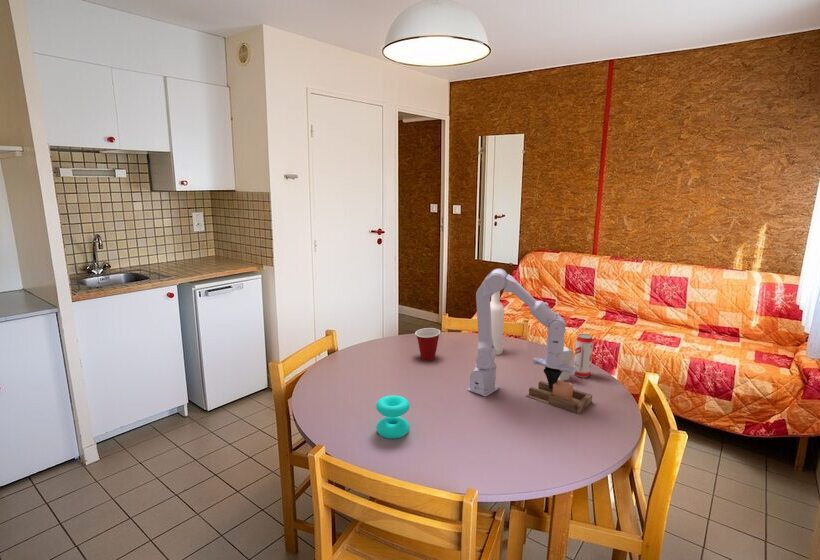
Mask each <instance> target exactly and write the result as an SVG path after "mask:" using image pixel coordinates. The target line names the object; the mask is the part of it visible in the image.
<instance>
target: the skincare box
mask: <svg viewBox="0 0 820 560" xmlns="http://www.w3.org/2000/svg"><path fill="white" fill-rule="evenodd" d="M572 356H573V350H572V349H570V348H569V347H567V346H565V345H564V351H563V363H564V364H566V365H569V366H571V367H572V365H571V364H572ZM570 375H571V374H570V373H567V372H562V373H561V375H560V376H559V378H558V380H557V381H559V380H561V381H564V380H565V381H568V380H570Z"/></svg>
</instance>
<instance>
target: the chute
mask: <svg viewBox="0 0 820 560" xmlns="http://www.w3.org/2000/svg"><path fill="white" fill-rule="evenodd" d="M552 393H553V389H549V384H548V382H546V381H542V380H540V381H538V387H533V386H532V387H529V389H528V393H527V394H526V395H525V397H526V398H529V399H532V400H535V401H539V402H541V403H544V404H547V405H551V406H552V407H553V406H554V407H556V408H560V409H562V410H565V411H569V412H571V413H574V412H575V413H574V414H576V415H579V414H581V412H583V411H584V410H585V409H586V408H588V406H590V405H591V404H592V402H593V394H591V393H587V392H584V391H581V390H577V389H574V388H573V395H572V399H571V400H570V401H568V400H565V399H562V398H559V397H556V396H552Z"/></svg>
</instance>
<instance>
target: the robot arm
mask: <svg viewBox="0 0 820 560" xmlns="http://www.w3.org/2000/svg"><path fill="white" fill-rule="evenodd" d="M483 279H484V280H482V282H481V284H480V286H479V287H478V288H477V291H476V293H475V301H476V317H477V318H476V319H477V333H478V335H477V337H478V345H477V355H476V356H475V368H474V370H472V371H471V372H470V374H469V387H468V388H467V391H469V392H472V393H474V394H478V395H480V396H483V397H488V396H489V395H492V394H493V393H494V392H497V391H498V390H499V389H501V387H500V386H498V385H496V376H497V372H496V371H497V364H496V362H495V359H496V357H497V355H496V349H495V347H494V345H493V340H492V326H491V307H490V302H491V296H492V295H493V294H494V293H496V292H498V291H500V292H501V291H502V290H503V292H504V293H511V294H513V295H514V296H516V297H517V298H518V299H519V300H520V301H522V302H523V303H524V304H525V305H526V306H527V307H528V308H529V313H530V314H531V315H532V317H534V318H535V319H536V320H537V321H538V322H540V323H541V324H542V326H544V327H546V331H547V337H546V346H545V358H540V357H534V358H533V359H532V361H533V362H532V364H533V365H538V366H542V367H544V369H543V373H544V375H545V377H546V380H547V383H548V384H549V389H553V384H554V383H556V382H557V381H559V380H558V378H559V376H560V375H561V373H562V372H567V373H570V374H569V375H572V376H573V375H575V374H574V373H575V368H574V366H572V365H571V366H569V365H566V364H564V363H563V351H564V346H565V333H566V331H567V329H566V321H565V319H564V318H563V317H562V316H561V314H559V313H558V312H555V311H554V310H553V309H552V308H550V307H549V303H548V302H547V301H545V302H544V301H542V300H537V299H535V298H534V296H532V294H530V293H529V292H528V290H526V289H525V288H524V287H523V286H522V285H521V284H520V283H519V282H518V280H517V279H515V278H514V277H513V276H512V275H510V274H509V273H508V272H507V271H506V270H505V269H503V268H495V269H493V270H492V271H491V272H489V273H488V274H487V275H486V277H485V278H483Z"/></svg>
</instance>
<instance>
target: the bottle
mask: <svg viewBox="0 0 820 560" xmlns="http://www.w3.org/2000/svg"><path fill="white" fill-rule="evenodd" d="M500 300H501V290H500V291H498V292H496V293H494V294H493V295H492V296H491V297H490V307H491V326H492V340H493V345H494V347H495V349H496V356H500V355H502V354H503V349H504V347H503V345H504V343H503V342H504V324H505V322H504V321H505V318H504V317H505V308H504V306H503V305H504V304H502V303H501V302H500Z"/></svg>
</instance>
